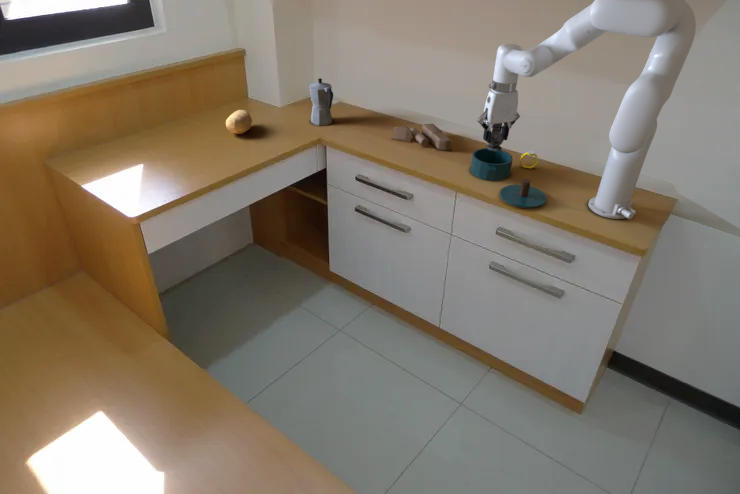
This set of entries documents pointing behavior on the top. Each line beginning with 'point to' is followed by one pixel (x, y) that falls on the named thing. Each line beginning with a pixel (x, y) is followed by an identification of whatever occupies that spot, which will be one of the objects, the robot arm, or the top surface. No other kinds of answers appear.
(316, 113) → the coffeepot
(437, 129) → the wooden block set
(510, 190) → the pan lid
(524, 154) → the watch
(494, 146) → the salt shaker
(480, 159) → the pan
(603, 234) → the top surface
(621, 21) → the robot arm
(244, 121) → the potato
